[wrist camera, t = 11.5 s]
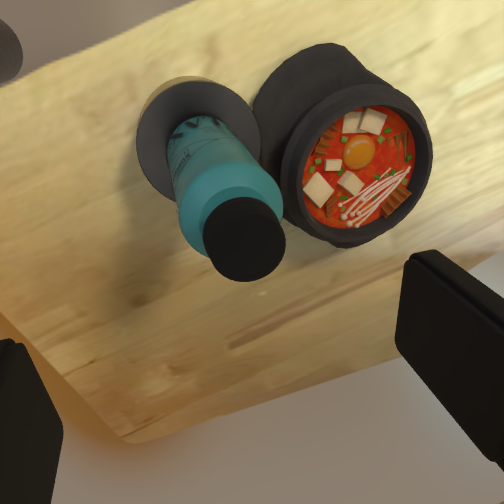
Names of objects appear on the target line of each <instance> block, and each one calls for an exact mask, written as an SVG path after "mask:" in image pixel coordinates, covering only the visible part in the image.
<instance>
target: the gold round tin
mask: <svg viewBox="0 0 504 504" xmlns="http://www.w3.org/2000/svg"><path fill="white" fill-rule="evenodd" d="M198 115H200V116H202V117H206V116H207V117H208V115H209V116H210V117H211V118H213V117H215V119H218V120H219V121H221V122H222V123H224V124H225V125H227V126H228V128H229V129H230V130H232V129H233V130H234V131H233V130H232V132H233V133H234V132H235V133H234V135H235V136H236V137H237V138H238V139H239V138H240V139H241V140H240V139H239V140H240V142H241V143H242V144H243V145H244V146H245V147H246V146H247V147H248V148H249V149H248V148H247V147H246V149H247V150H248V151H249V152H250V154H251V155H252V157H253V156H254V157H253V158H254V159H255V160H256V161H257V162H258V163H259V158H260V154H261V135H260V129H259V126H258V122H257V120H256V118H255V115H254V114H253V112H252V110H251V108H250V107H249V106H248V105H247V103H246V102H245V101H244V100H243V99H242V98H241V97H240V96H239V95H238V94H236V93H235V92H234V91H232V90H231V89H229V88H227V87H225V86H223V85H221V84H218V83H215V82H213V81H211V80H209V79H206V78H202V77H197V76H183V77H178V78H175V79H172V80H169V81H167V82H165V83H163V84H162V85H161V86H159V87H158V88H157V89H156V90H155V91H154V92H153V93H152V94H151V95H150V97H149V98H148V99H147V101H146V103H145V105H144V107H143V109H142V112H141V116H140V122H139V125H138V129H137V137H136V150H137V156H138V160H139V163H140V166H141V168H142V171H143V173H144V175H145V176H146V178H147V179H148V181H149V182H150V183H151V184H152V186H153V187H154V188H155V189H156V190H157V191H158V192H160V193H161V194H162V195H164V196H165V197H167V198H169V199H171V200H172V201H173V196H174V201H175V202H176V198H175V193H174V188H173V185H172V184H171V182H172V178H171V175H170V174H171V173H170V171H169V172H168V168H167V161H168V156H167V148H168V143H169V141H168V140H170V138H171V137H169V136H172V135H170V134H173V131H175V130H176V129H177V127H178V126H180V125H181V123H184V121H187V120H189V119H191V118H193V116H194V118H195V117H198ZM200 116H199V117H200ZM190 117H191V118H190ZM216 117H217V118H216ZM222 120H223V121H224V122H223V121H222ZM182 121H183V122H182ZM225 122H226V123H225ZM177 125H178V126H177ZM176 126H177V127H176ZM229 126H230V127H231V128H232V129H231V128H230V127H229ZM175 127H176V128H175ZM168 138H169V139H168ZM166 144H167V145H166ZM165 152H166V153H165ZM165 154H166V155H165ZM166 156H167V161H166ZM168 167H169V163H168ZM169 169H170V167H169ZM169 178H170V179H169ZM171 187H172V188H171ZM171 189H173V191H172V190H171ZM172 192H173V193H172ZM172 194H173V195H172Z"/></svg>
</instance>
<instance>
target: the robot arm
mask: <svg viewBox="0 0 504 504" xmlns="http://www.w3.org/2000/svg"><path fill="white" fill-rule="evenodd" d="M395 344H396V347H397V349H398V351H399V352H400V354H401V355H402V356H403V357H404V358H405V360H406V361H407V362H408V363H409V364H410V366H411V367H412V368H413V369H414V371H415V372H416V373H417V374H418V376H420V378H421V379H422V380H423V382H424V383H425V384H426V385H427V386H428V388H429V389H430V390H431V391H432V393H433V394H434V395H435V396H436V397H437V399H438V400H439V401H440V402H441V404H442V405H443V406H444V407H445V408H446V410H447V411H448V412H449V413H450V415H451V416H452V417H453V418H454V419H455V421H456V422H457V423H458V424H459V426H461V428H462V429H463V430H464V432H465V433H466V434H467V435H468V437H469V438H470V439H471V440H472V441H473V443H474V444H475V445H476V446H477V447H478V449H479V450H480V451H481V452H482V454H483V455H484V456H485V457H486V458H487V459H488V460H490V461H493V462H496V463H497V464H498V466H499V467H500V468H501V469H502V470H503V471H504V298H502V297H501V296H500V295H498V294H497V293H495V292H494V291H493V290H491V289H490V288H488V287H487V286H486V285H484V284H483V283H482V282H480V281H479V280H477V279H476V278H475V277H473V276H472V275H470V274H469V273H468V272H466V271H465V270H464V269H462V268H461V267H460V266H458V265H457V264H455V263H454V262H453V261H451V260H450V259H448V258H447V257H446V256H444V255H443V254H442V253H440V252H439V251H437V250H427V251H422V252H418V253H413V254H412V255H411V256H410V257H409V260H407V261H406V262H405V264H404V270H403V278H402V286H401V293H400V301H399V309H398V316H397V324H396V332H395ZM62 441H63V425H62V421H61V419H60V417H59V415H58V413H57V411H56V409H55V407H54V405H53V403H52V401H51V398H50V396H49V394H48V392H47V391H46V388H45V386H44V384H43V382H42V380H41V378H40V376H39V374H38V372H37V370H36V368H35V366H34V364H33V361H32V359H31V357H30V355H29V353H28V351H27V349H26V347H25V346H24V344H23V343H15V341H14V340H12V339H9V338H8V339H3V340H0V504H51V499H52V493H53V489H54V483H55V477H56V473H57V467H58V462H59V456H60V451H61V446H62ZM498 504H504V502H501V503H498Z"/></svg>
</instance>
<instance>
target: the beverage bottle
mask: <svg viewBox="0 0 504 504" xmlns="http://www.w3.org/2000/svg"><path fill="white" fill-rule="evenodd" d="M199 116H200V115H198V117H195V118H194V116H193V118H191V117H190V118H191V119H189V120H187V121H184V123H181V125H180V126H178V125H177V126H178V127H177V126H176V127H177V129H176V130H175V131H173V134H170V135H172V136H169V137H171V138H170V140H168V141H169V143H168V148H167V156H168V161H167V156H166V161H167V168H168V172H169V171H170V173H171V174H170V175H171V178H172V182H171V184H172V185H173V188H174V193H175V198H176V203H177V204H176V205H177V207H178V217H179V224H180V228H181V231H182V233H183V235H184V237H185V239H186V240H187V242H188V243H189V244H190V245H191V246H192V247H193V248H194V249H195V250H196V251H197V252H199V253H200V254H202V255H204V256H206V257H208V258H210V259H211V261H212V263H213V265H214V267H215V268H216V270H217V271H218V272H219V273H220V274H222V275H223V276H225V277H226V278H228V279H230V280H234V281H238V282H250V281H255V280H258V279H261V278H263V277H265V276H267V275H268V274H270V273H271V272H272V271H273V270H274V269H275V268H276V267H277V266H278V265H279V263H280V262H281V260H282V258H283V256H284V253H285V247H286V239H285V234H284V231H283V229H282V227H281V225H280V223H281V220H282V215H283V200H282V195H281V192H280V189H279V187H278V185H277V184H276V182H275V181H274V179H273V178H272V177H271V176H270V175H269V174H268V173H267V172H266V171H265V170H263V168H262V167H261V166H260V165H259V164H258V162H257V161H256V160H255V159H254V158H253V157H254V156H253V157H252V155H251V154H250V152H249V151H248V150H247V149H246V147H247V146H246V147H245V146H244V145H243V144H242V143H241V142H240V140H241V139H240V138H239V139H240V140H239V139H238V138H237V137H236V136H235V135H234V133H235V132H234V133H233V132H232V130H233V129H232V128H231V127H230V126H229V127H230V128H231V129H232V130H230V129H229V128H228V126H227V125H225V124H224V123H222V122H221V121H219V120H218V119H215V117H213V118H211V117H210V116H209V115H208V117H207V116H206V117H202V116H200V117H199ZM216 118H217V117H216ZM222 121H223V120H222ZM182 122H183V121H182ZM223 122H224V121H223ZM225 123H226V122H225ZM176 127H175V128H176ZM233 131H234V130H233ZM168 139H169V138H168ZM166 145H167V144H166ZM247 148H248V147H247ZM248 149H249V148H248ZM165 153H166V152H165ZM165 155H166V154H165ZM168 163H169V167H170V169H169V167H168ZM169 179H170V178H169ZM171 188H172V187H171ZM171 190H172V191H173V189H171ZM172 193H173V192H172ZM172 195H173V194H172ZM173 201H174V196H173ZM174 203H175V202H174Z"/></svg>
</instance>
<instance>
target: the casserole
mask: <svg viewBox="0 0 504 504" xmlns="http://www.w3.org/2000/svg"><path fill="white" fill-rule="evenodd" d="M253 114H254V115H255V118H256V120H257V122H258V126H259V129H260V135H261V163H262V168H263V170H265V171H266V172H267V173H268V174H269V175H270V176H271V177H272V178H273V179H274V181H275V182H276V184H277V185H278V187H279V189H280V192H281V195H282V200H283V215H282V217H283V218H284V219H286V220H287V221H289V222H290V223H291V224H293V225H294V226H297V227H299V228H301V229H302V230H304V231H305V232H307V233H308V234H309V235H311V236H313V237H316V238H318V239H321V240H324V241H328V242H329V243H331V244H332V245H334V246H335V247H337V248H346V249H347V248H352V247H356V246H359V245H362V244H364V243H367V242H369V241H371V240H372V239H374V238H376V237H377V236H379V235H381V234H383V233H385V232H386V231H388V230H390V229H391V228H393V227H394V226H395V225H397V224H398V223H399V222H400V221H402V220H403V219H404V218H405V217H406V216H407V215H408V213H409V212H410V211H411V210H412V209H413V208H414V206H415V205H416V203H417V202H418V200H419V199H420V198H421V196H422V194H423V192H424V190H425V187H426V185H427V183H428V180H429V176H430V173H431V168H432V160H433V149H432V141H431V137H430V134H429V130H428V128H427V124H426V121H425V119H424V117H423V115H422V113H421V111H420V109H419V108H418V107H417V105H416V104H415V103H414V102H413V101H412V100H411V99H410V98H409V97H408V96H406V95H405V94H403V93H402V92H400V91H399V90H397V89H394V88H393V87H392V85H390V84H389V83H387V82H385V81H384V80H382V79H381V78H379V77H378V76H376V75H375V74H373V73H372V72H370V71H368V70H367V69H366V68H365V67H364V66H363V65H362V64H361V63H360V62H359V61H358V59H357V58H356V57H355V56H354V55H353V54H352V53H350V52H349V51H348V50H347V49H346V48H345V47H344V46H341V45H337V44H334V43H325V44H317V45H314V46H312V47H309V48H307V49H304V50H301V51H300V52H298V53H296V54H295V55H293V56H292V57H290V58H288V59H287V60H285V61H284V62H283V63H282V64H281V65H280V66H279V67H278V68H277V69H276V70H275V71H274V72H273V73H272V74H271V75H270V76H269V78H268V79H267V80H266V82H265V83H264V84H263V86H262V87H261V89H260V91H259V93H258V95H257V97H256V99H255V101H254V105H253Z"/></svg>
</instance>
